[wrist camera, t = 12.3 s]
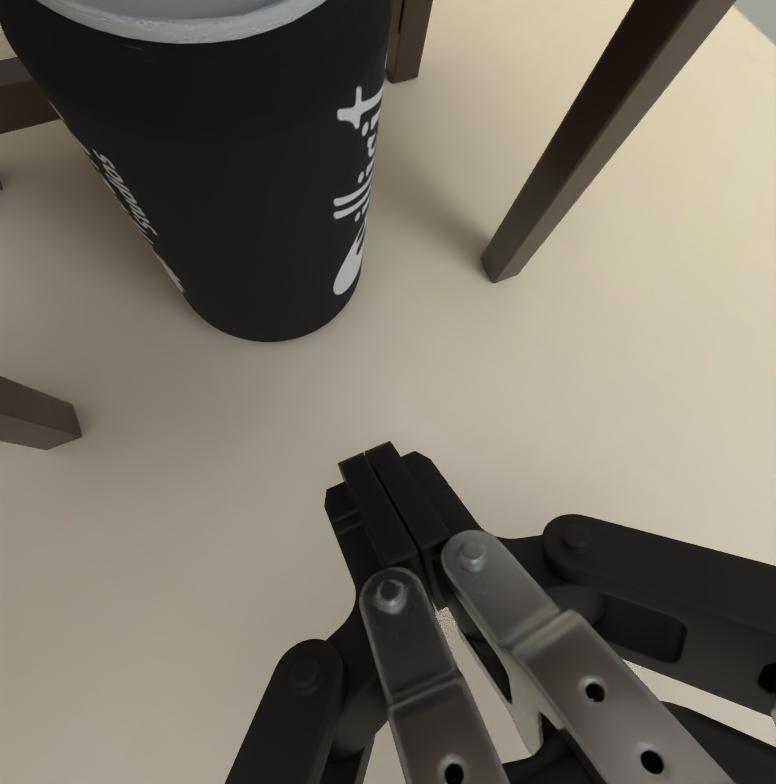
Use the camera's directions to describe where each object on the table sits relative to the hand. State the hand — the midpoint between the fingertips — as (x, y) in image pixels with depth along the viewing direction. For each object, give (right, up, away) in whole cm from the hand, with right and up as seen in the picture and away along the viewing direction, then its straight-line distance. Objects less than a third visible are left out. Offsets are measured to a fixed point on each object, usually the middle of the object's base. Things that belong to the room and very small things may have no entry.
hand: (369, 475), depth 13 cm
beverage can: (-4, +7, +5) cm, 10 cm away
